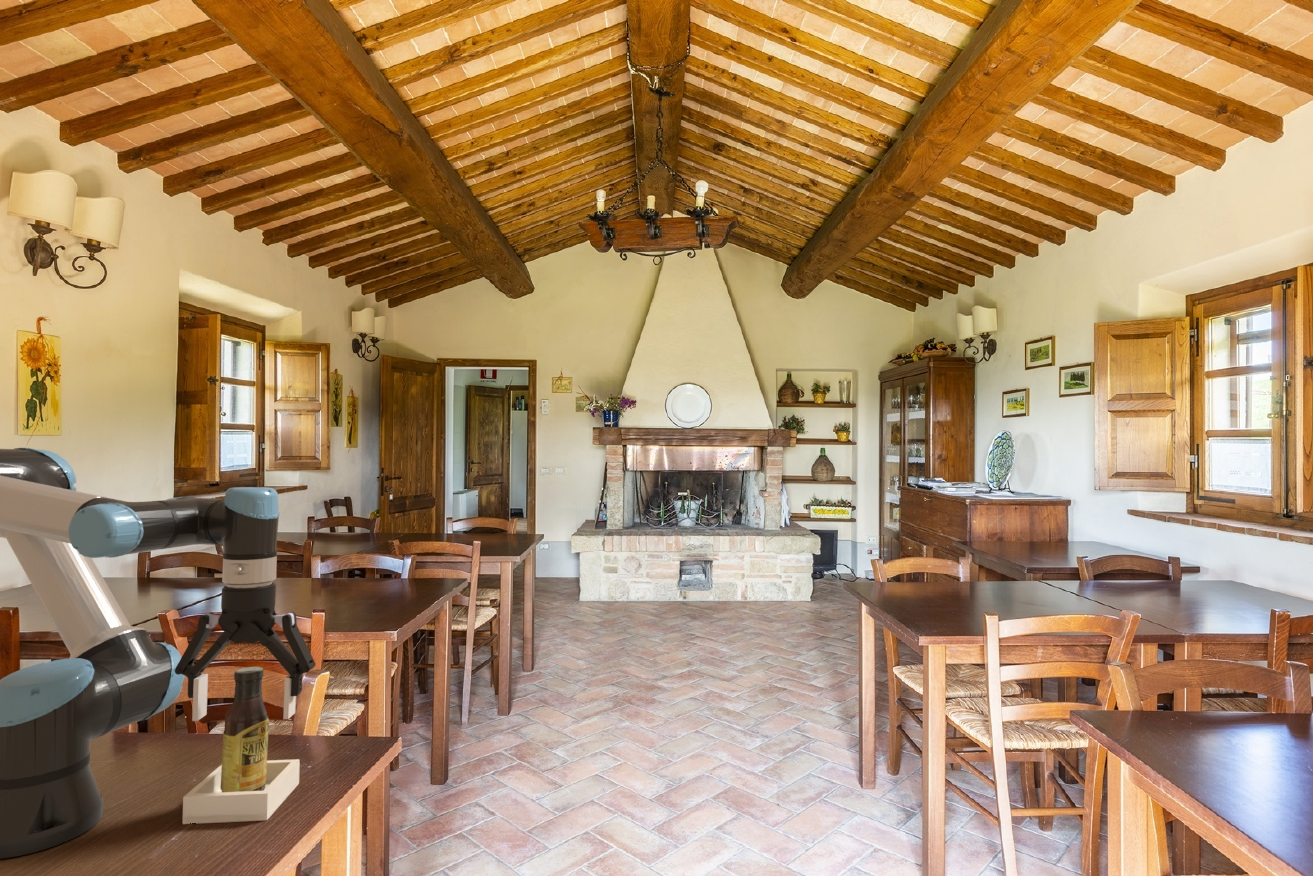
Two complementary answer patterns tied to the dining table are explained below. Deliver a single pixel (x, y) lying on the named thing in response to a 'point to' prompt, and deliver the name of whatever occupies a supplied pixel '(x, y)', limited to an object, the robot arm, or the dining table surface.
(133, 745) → the dining table surface
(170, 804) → the dining table surface
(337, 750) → the dining table surface
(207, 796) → the square white tray
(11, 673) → the robot arm
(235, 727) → the sauce bottle
